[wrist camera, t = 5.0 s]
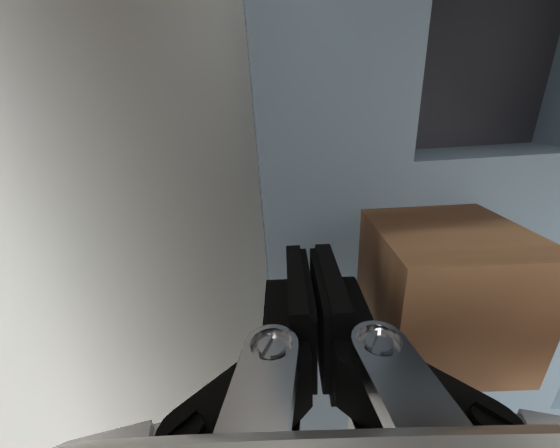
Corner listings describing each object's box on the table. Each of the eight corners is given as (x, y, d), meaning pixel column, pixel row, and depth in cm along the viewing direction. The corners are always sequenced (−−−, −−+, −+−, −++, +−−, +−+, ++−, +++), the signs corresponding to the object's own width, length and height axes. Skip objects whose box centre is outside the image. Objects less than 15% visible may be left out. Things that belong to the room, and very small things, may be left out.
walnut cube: (360, 209, 11) (408, 269, 7) (476, 203, 11) (591, 260, 7) (355, 302, 13) (391, 395, 9) (455, 298, 13) (539, 389, 9)
